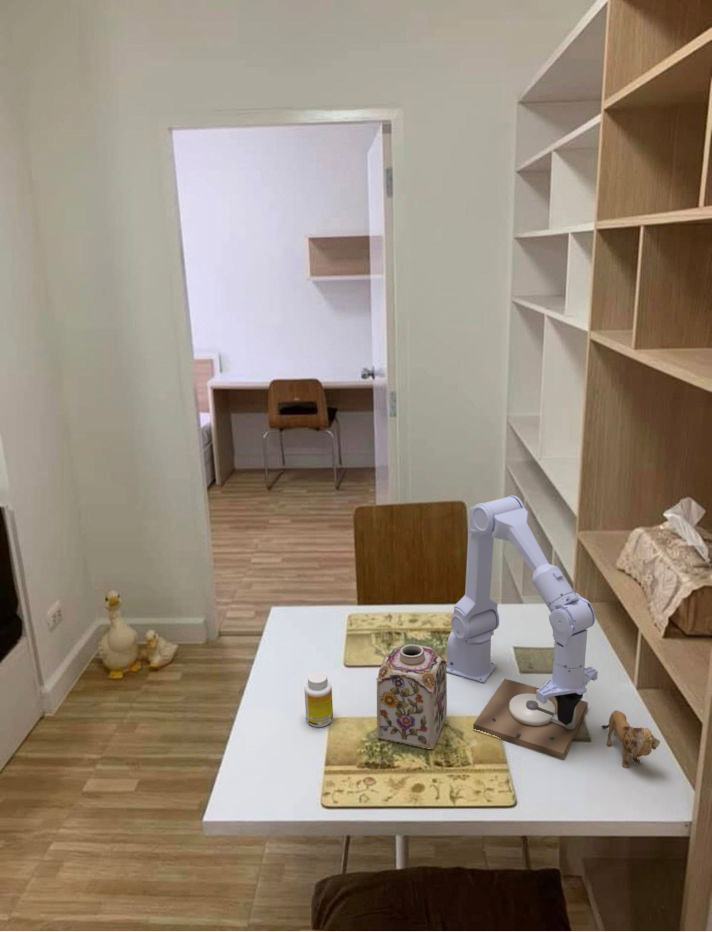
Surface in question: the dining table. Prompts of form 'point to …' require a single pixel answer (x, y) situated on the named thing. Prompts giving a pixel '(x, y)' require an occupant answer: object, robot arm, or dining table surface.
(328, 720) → the supplement bottle
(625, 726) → the lion figurine
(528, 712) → the dial
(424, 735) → the decorative jar
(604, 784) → the dining table surface
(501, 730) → the board
